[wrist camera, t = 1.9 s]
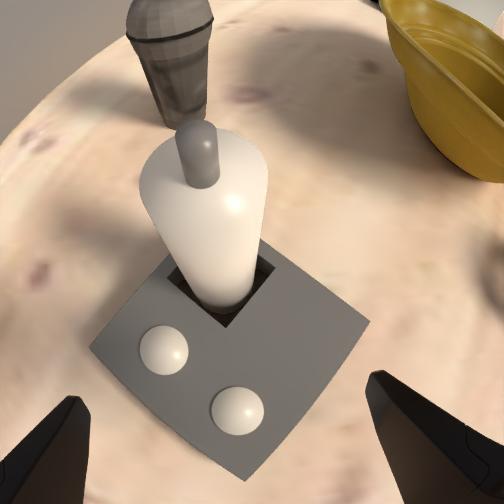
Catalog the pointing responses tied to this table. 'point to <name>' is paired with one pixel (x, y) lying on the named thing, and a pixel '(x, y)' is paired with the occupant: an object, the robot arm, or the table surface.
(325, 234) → the table surface
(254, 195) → the white lotion bottle
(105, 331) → the charging dock
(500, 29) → the milk
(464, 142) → the planter bowl
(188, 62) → the beverage cup
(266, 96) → the table surface
